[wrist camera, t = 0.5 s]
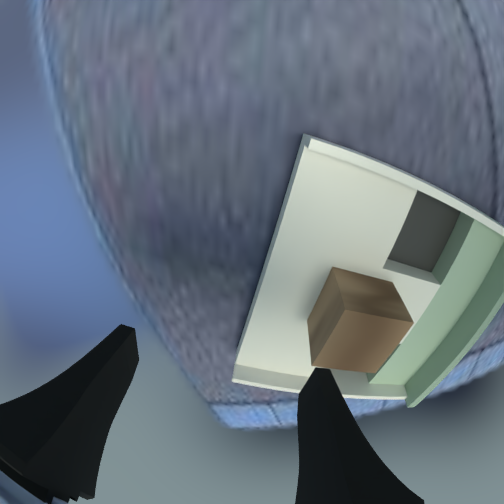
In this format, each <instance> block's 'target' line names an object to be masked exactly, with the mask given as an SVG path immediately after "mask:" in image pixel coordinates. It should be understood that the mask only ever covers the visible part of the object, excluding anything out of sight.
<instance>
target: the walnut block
mask: <svg viewBox="0 0 504 504" xmlns="http://www.w3.org/2000/svg"><path fill="white" fill-rule="evenodd" d="M413 324H414V322H413V320H412V318H411V316H410V314H409V312H408V310H407V308H406V306H405V304H404V302H403V300H402V299H401V297H400V295H399V293H398V291H397V289H396V288H395V286H394V284H393V282H390V281H386V280H383V279H379V278H375V277H371V276H367V275H363V274H360V273H356V272H352V271H348V270H344V269H340V268H337V267H333V266H332V268H331V271H330V273H329V275H328V277H327V279H326V282H325V284H324V286H323V288H322V290H321V292H320V295H319V297H318V299H317V301H316V303H315V305H314V307H313V309H312V311H311V313H310V315H309V317H308V319H307V326H308V335H309V346H310V356H311V366H316V367H323V368H330V369H338V370H346V371H356V372H366V373H376V372H377V371H378V369H379V368H380V367H381V366H382V365H383V363H384V362H385V361H386V360H387V358H388V357H389V356H390V355H391V353H392V352H393V351H394V349H395V348H396V347H397V346H398V344H399V343H400V342H401V340H402V339H403V338H404V336H405V335H406V333H407V332H408V331H409V329H410V328H411V326H412V325H413Z"/></svg>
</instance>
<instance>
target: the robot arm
mask: <svg viewBox="0 0 504 504" xmlns="http://www.w3.org/2000/svg"><path fill="white" fill-rule="evenodd" d="M138 361H139V355H138V348H137V341H136V333H135V328H132V327H129V326H125V325H122V324H121V325H119V326H118V327H117V328H116V329H115V330H114V331H113V332H111V333H110V334H109V335H108V336H107V337H106V338H105V339H104V340H103V341H101V342H100V343H99V344H98V345H97V346H96V347H94V348H93V349H92V350H91V351H90V352H89V353H87V354H86V355H85V356H84V357H83V358H81V359H80V360H79V361H78V362H76V363H75V364H73V365H72V366H71V367H70V368H69V369H67V370H66V371H64V372H63V373H61V374H60V375H58V376H57V377H55V378H54V379H52V380H51V381H49V382H48V383H46V384H44V385H42V386H41V387H39V388H37V389H35V390H33V391H31V392H29V393H27V394H25V395H23V396H21V397H18V398H16V399H14V400H11V401H9V402H6V403H3V404H0V504H68V502H69V499H70V498H71V499H72V500H74V501H77V500H78V497H79V496H80V497H82V498H85V499H87V500H88V499H92V498H94V496H95V488H96V481H97V476H98V471H99V466H100V461H101V458H102V454H103V450H104V446H105V443H106V439H107V436H108V432H109V429H110V427H111V424H112V422H113V419H114V417H115V415H116V413H117V411H118V409H119V407H120V404H121V402H122V400H123V398H124V396H125V394H126V392H127V390H128V388H129V386H130V384H131V381H132V379H133V376H134V373H135V370H136V367H137V365H138ZM297 421H298V441H299V477H298V486H297V495H296V502H295V504H424V500H423V499H421V498H420V497H419V496H417V495H416V494H415V493H413V492H412V491H411V490H409V489H408V488H407V487H406V486H405V485H404V484H403V483H402V482H401V481H400V480H399V479H398V478H397V477H396V476H395V475H394V474H393V473H392V472H391V471H390V469H389V468H388V467H387V466H386V465H385V464H384V463H383V462H382V460H381V459H380V458H379V456H378V455H377V454H376V452H375V451H374V450H373V448H372V447H371V445H370V444H369V442H368V441H367V439H366V438H365V436H364V435H363V433H362V431H361V430H360V428H359V426H358V425H357V423H356V421H355V419H354V417H353V415H352V413H351V411H350V410H349V408H348V406H347V404H346V402H345V400H344V398H343V396H342V394H341V391H340V389H339V387H338V385H337V383H336V381H335V379H334V376H333V374H332V372H331V370H330V369H327V368H318V367H315V369H314V371H313V372H312V374H311V375H310V377H309V379H308V380H307V382H306V383H305V385H304V386H303V388H302V390H301V391H300V393H299V398H298V412H297Z"/></svg>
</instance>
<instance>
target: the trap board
mask: <svg viewBox="0 0 504 504" xmlns="http://www.w3.org/2000/svg"><path fill="white" fill-rule="evenodd" d="M332 266H333V267H337V268H340V269H344V270H348V271H352V272H356V273H360V274H363V275H367V276H371V277H375V278H379V279H383V280H386V281H390V282H393V284H394V286H395V288H396V289H397V291H398V293H399V295H400V297H401V299H402V300H403V302H404V304H405V306H406V308H407V310H408V312H409V314H410V316H411V318H412V320H413V322H414V324H413V325H412V326H411V328H410V329H409V331H408V332H407V333H406V335H405V336H404V338H403V339H402V340H401V342H400V343H399V344H398V346H397V347H396V348H395V349H394V351H393V352H392V353H391V355H390V356H389V357H388V358H387V360H386V361H385V362H384V363H383V365H382V366H381V367H380V368H379V369H378V371H377V372H376V373H366V372H356V371H346V370H338V369H330V368H327V369H330V370H331V372H332V374H333V376H334V379H335V381H336V383H337V385H338V387H339V389H340V391H341V394H342V396H343V398H358V399H405V401H406V405H407V407H415V406H416V405H417V404H418V403H419V402H420V401H422V400H423V399H424V398H425V397H426V396H427V395H428V394H429V393H430V392H431V391H432V390H433V389H434V388H435V387H436V386H437V385H438V384H439V383H440V382H441V381H442V380H443V379H444V378H445V377H446V376H447V375H448V374H449V373H450V371H451V370H452V369H453V368H454V367H455V366H456V365H457V364H458V363H459V361H460V360H461V359H462V358H463V357H464V356H465V354H466V353H467V352H468V351H469V350H470V348H471V347H472V346H473V345H474V343H475V342H476V341H477V340H478V338H479V337H480V336H481V334H482V333H483V332H484V330H485V329H486V328H487V326H488V325H489V323H490V322H491V321H492V319H493V318H494V316H495V315H496V313H497V312H498V310H499V309H500V307H501V306H502V304H503V303H504V226H503V225H501V224H500V223H498V222H497V221H495V220H494V219H492V218H491V217H489V216H488V215H486V214H484V213H483V212H481V211H479V210H478V209H476V208H475V207H473V206H471V205H469V204H468V203H466V202H464V201H463V200H461V199H459V198H457V197H455V196H454V195H452V194H450V193H448V192H446V191H444V190H442V189H440V188H439V187H437V186H435V185H433V184H431V183H429V182H427V181H425V180H423V179H421V178H418V177H416V176H414V175H412V174H410V173H408V172H406V171H403V170H401V169H399V168H397V167H394V166H392V165H390V164H387V163H385V162H383V161H380V160H378V159H375V158H373V157H370V156H368V155H365V154H363V153H360V152H357V151H355V150H352V149H349V148H346V147H344V146H341V145H338V144H335V143H332V142H329V141H326V140H323V139H320V138H317V137H314V136H311V135H307V134H304V133H303V137H302V140H301V144H300V147H299V151H298V154H297V157H296V161H295V164H294V168H293V171H292V174H291V178H290V181H289V184H288V188H287V191H286V194H285V198H284V201H283V204H282V208H281V211H280V214H279V218H278V221H277V224H276V228H275V231H274V234H273V237H272V241H271V244H270V247H269V250H268V254H267V257H266V260H265V263H264V266H263V270H262V273H261V276H260V279H259V282H258V286H257V289H256V292H255V295H254V298H253V301H252V304H251V308H250V311H249V314H248V317H247V320H246V323H245V326H244V329H243V332H242V336H241V339H240V342H239V345H238V348H237V352H236V358H235V364H234V370H233V376H232V382H236V383H241V384H246V385H251V386H257V387H262V388H268V389H274V390H280V391H287V392H294V393H300V391H301V390H302V388H303V386H304V385H305V383H306V382H307V380H308V379H309V377H310V375H311V374H312V372H313V371H314V369H315V367H316V366H311V356H310V346H309V335H308V326H307V319H308V317H309V315H310V313H311V311H312V309H313V307H314V305H315V303H316V301H317V299H318V297H319V295H320V292H321V290H322V288H323V286H324V284H325V282H326V279H327V277H328V275H329V273H330V271H331V268H332ZM318 368H323V367H318Z"/></svg>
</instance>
